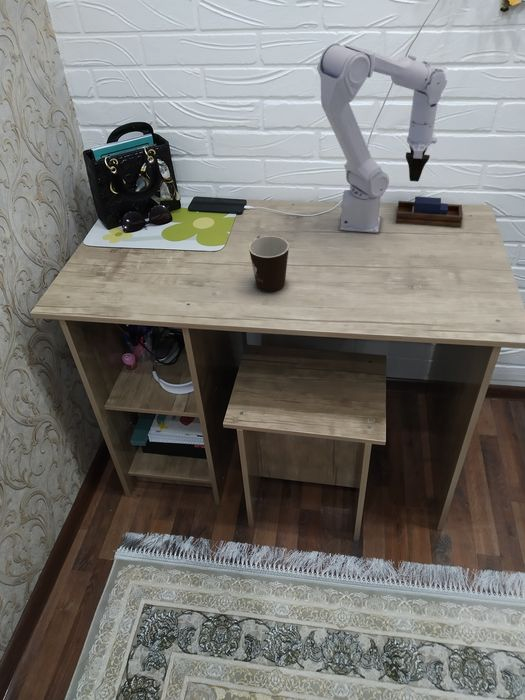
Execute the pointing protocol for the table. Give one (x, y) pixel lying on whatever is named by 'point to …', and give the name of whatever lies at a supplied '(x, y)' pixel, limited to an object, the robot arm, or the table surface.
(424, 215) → the wooden serving tray
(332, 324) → the table surface
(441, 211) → the dark blue stepped block
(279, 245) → the coffee mug
